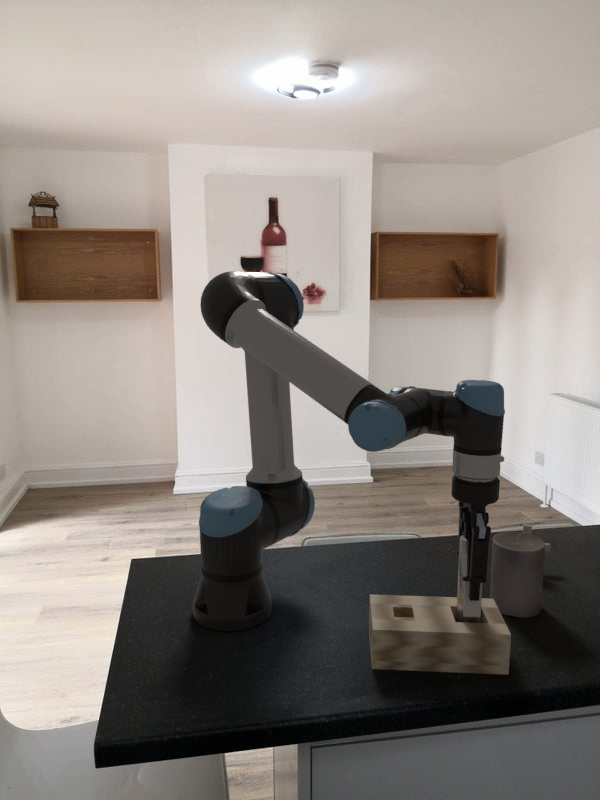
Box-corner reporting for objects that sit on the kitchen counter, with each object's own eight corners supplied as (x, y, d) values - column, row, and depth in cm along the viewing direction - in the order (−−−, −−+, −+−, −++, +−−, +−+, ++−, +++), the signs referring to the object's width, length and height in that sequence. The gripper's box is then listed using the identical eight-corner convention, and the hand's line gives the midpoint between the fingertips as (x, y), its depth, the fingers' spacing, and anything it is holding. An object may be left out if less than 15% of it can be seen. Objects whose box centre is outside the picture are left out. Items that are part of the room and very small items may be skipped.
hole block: (371, 668, 103) (372, 629, 102) (368, 630, 115) (369, 594, 114) (508, 674, 102) (511, 634, 100) (491, 634, 113) (493, 598, 112)
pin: (457, 644, 106) (462, 543, 103) (453, 632, 110) (457, 534, 106) (481, 645, 105) (487, 544, 102) (476, 632, 109) (481, 534, 106)
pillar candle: (518, 591, 130) (521, 522, 127) (552, 613, 121) (557, 539, 118) (479, 599, 126) (481, 529, 124) (511, 623, 118) (515, 547, 115)
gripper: (513, 492, 94) (504, 636, 98) (487, 462, 111) (480, 586, 115) (462, 491, 94) (455, 634, 98) (444, 461, 111) (438, 584, 115)
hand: (468, 608), depth 106 cm, fingers closed on pin, 4 cm apart
